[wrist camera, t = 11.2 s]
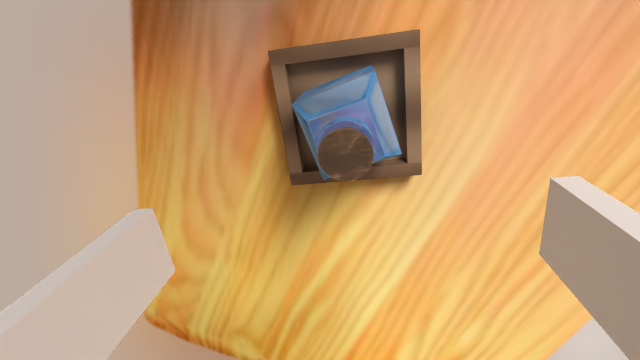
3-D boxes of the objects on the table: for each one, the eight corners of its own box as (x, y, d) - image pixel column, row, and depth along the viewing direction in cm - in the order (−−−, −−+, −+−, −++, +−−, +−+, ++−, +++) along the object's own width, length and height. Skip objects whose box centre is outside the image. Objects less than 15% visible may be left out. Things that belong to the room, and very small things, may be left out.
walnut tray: (273, 50, 29) (267, 50, 27) (415, 30, 27) (419, 29, 25) (295, 177, 33) (291, 185, 31) (417, 166, 31) (421, 174, 30)
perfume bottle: (329, 154, 31) (315, 216, 20) (304, 92, 29) (273, 123, 18) (393, 132, 30) (415, 186, 19) (371, 64, 28) (381, 81, 17)
